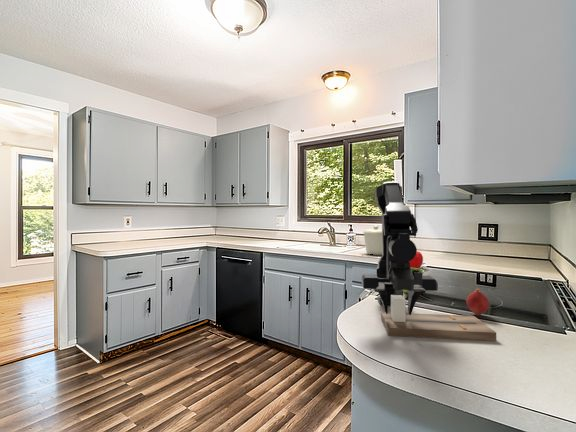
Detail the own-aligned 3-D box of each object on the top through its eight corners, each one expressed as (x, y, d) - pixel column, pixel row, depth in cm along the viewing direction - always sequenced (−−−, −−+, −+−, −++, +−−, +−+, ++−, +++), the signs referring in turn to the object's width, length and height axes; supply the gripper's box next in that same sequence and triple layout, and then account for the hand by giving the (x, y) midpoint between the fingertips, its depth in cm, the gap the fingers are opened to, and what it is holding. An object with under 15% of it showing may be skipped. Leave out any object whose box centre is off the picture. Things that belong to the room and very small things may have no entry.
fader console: (381, 319, 89) (381, 311, 89) (473, 323, 86) (473, 315, 86) (388, 335, 77) (388, 326, 77) (496, 340, 74) (496, 331, 74)
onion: (462, 312, 95) (462, 286, 95) (479, 311, 95) (479, 286, 95) (474, 318, 89) (474, 291, 89) (493, 318, 89) (493, 290, 89)
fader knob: (390, 316, 85) (390, 294, 85) (402, 316, 85) (402, 295, 84) (393, 321, 81) (393, 299, 81) (405, 322, 81) (405, 299, 81)
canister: (381, 257, 210) (381, 226, 209) (358, 254, 222) (358, 225, 222) (393, 254, 223) (393, 225, 222) (370, 252, 235) (370, 224, 235)
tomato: (407, 270, 161) (407, 251, 161) (397, 266, 174) (397, 248, 174) (428, 270, 162) (428, 250, 162) (417, 266, 174) (417, 248, 174)
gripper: (365, 260, 76) (365, 323, 76) (445, 261, 73) (445, 326, 73) (361, 254, 87) (361, 309, 87) (430, 255, 84) (430, 311, 84)
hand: (397, 314), depth 83 cm, fingers open, 6 cm apart
